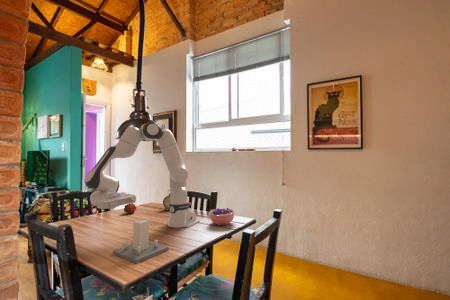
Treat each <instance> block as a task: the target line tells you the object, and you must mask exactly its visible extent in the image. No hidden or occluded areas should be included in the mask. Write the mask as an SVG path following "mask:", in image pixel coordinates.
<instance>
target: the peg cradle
mask: <svg viewBox="0 0 450 300" xmlns="http://www.w3.org/2000/svg"><path fill="white" fill-rule="evenodd" d="M167 251H169V246H167V245H163V244H160V243H159V240H158V239H155V240H153V241H151V240H149V248H148V249H145V250H143V251H141V246H137V250H134V249H133V243H130V244H129V242H128V241H123V246H121V247H119V248H115V249H113V250H112V254H113V255H115V256H117V257H120V258H122V259H124V260H127V261H129V262H132V263H134V264H139V263H142V262H144V261H146V260H148V259H151V258H153V257H155V256H158V255H160V254H162V253H165V252H167Z"/></svg>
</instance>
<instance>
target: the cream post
mask: <svg viewBox="0 0 450 300" xmlns="http://www.w3.org/2000/svg"><path fill="white" fill-rule="evenodd" d="M132 223H133V226H132V227H133V228H132V231H133V234H132V237H133V238H132V240H133V241H132V244H133V249H134V250H137V246H141V251H143V250H145V249H148V248H149V241H150V240H149V238H150V230H149V229H150V225H149V224H150V222H149V220H146V219H138V220H135V221H133V222H132Z"/></svg>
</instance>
